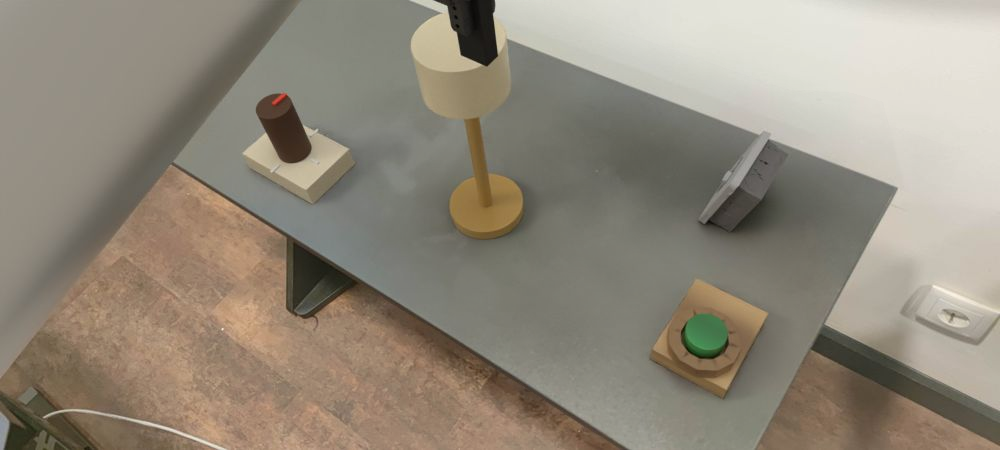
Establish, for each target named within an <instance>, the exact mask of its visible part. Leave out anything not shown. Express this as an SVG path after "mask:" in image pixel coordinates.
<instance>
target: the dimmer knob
mask: <svg viewBox="0 0 1000 450" xmlns="http://www.w3.org/2000/svg"><path fill="white" fill-rule="evenodd" d="M255 113H256V116H257V119H258V120H259V121H260V124H261V125H262V128H263V129H264V131H265V133H267V135H268V137H269V139H270V141H271V143H272V145H273V147H274V149H275V151H276V153H277V155H278V157H279V158H280V160H282V161H283V162H286V163H296V162H299V161H302V160H303V159H305V158H306V157H307V156H308V155H309V154H310V152H311V148H312V146H311V143H310V141H309V138H308V136H307V134H306V132H305V130H304V127H303V125H304V124H303V122H302V121H301V118H300V116H299V114H298V112H297V109H296V108H295V105H294V103H293V101H292V98H291V97H290V96H289V95H288V94H287V93H286V92H282V93H279V92H278V93H272V94H269V95H266V96H264V97H263V98H261V99H260V101H258V103H257V104H256V107H255Z"/></svg>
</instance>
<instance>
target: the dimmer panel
mask: <svg viewBox="0 0 1000 450" xmlns="http://www.w3.org/2000/svg"><path fill="white" fill-rule="evenodd" d="M302 125H303V127H304V130H305V132H306V134H307V136H308V138H309V141H310V143H311V146H312V148H311V152H310V154H309V155H308V156H307V157H306V158H305V159H303V160H302V161H299V162H296V163H286V162H283V161H282V160H280V158H279V157H278V155H277V153H276V151H275V149H274V147H273V145H272V143H271V141H270V139H269V137H268V135H267V133H266V132H264V133H263V134H262V135H261V136H260V137H259V138H257V140H256V141H254V142H253V143H252V144H251V145H249V146H248V147H247V148H246V149H245V150H244V151H243V152H242V153H241V154H242V156H243V157H244V159H245V161H246V163H247V165H248V166H249V168H250V169H251V170H252V171H254V172H256V173H258V174H260V175H261V176H263V177H265V178H267V179H269V181H272V182H274V183H275V184H277V185H278V186H281V187H282V188H284V189H286V190H287V191H289V192H291V193H292V194H294V195H296V196H298V197H300V198H301V199H303V200H305V201H306V202H308V203H309V204H312V205H315V204H316V202H318V201H319V200H320V199H321V198H322V197H323V196H324V195H325V194H326V193H327V192H328V191H329V190H330V189H332V187H334V185H335V184H336V183H338V181H340V179H341V178H343V177H344V176H345V174H347V172H349V171H350V170H351V169H352V168H353V167H354V166H355V165H356V163H355V161H354V158H353V155H352V153H351V150H350V148H348V147H346V146H345V145H342V144H340V143H339V142H337V141H335V140H333V139H331V138H329V137H327V136H326V135H323V134H321V133H319V131H320V130H319V129H318V128H316V129H315V130H314V129H313V128H312V129H311V128H310V127H308V126H307V125H304V124H302Z"/></svg>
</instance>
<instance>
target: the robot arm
mask: <svg viewBox="0 0 1000 450" xmlns="http://www.w3.org/2000/svg"><path fill="white" fill-rule="evenodd" d="M433 1H434V2H437V3H439V4H440V5H444V6H446V7H447V12H448V13H449V18H450V24H451V28H452V29H453V31H455V32H457V37H458V43H459V48H460V54H461V56H463V57H466V58H468V59H470V60H473V61H475V62H477V63H479V64H482V65H484V66H486V67H487V66H488V65H490V64H491V63H492V62H493V61H494V60H495V59H496V58H497V57H498V50H497V42H496V34H495V25H494V17H495V16H494V13H495V12H496V0H433ZM301 2H302V0H0V380H1V379H2V377H3V376H4V375H5V374H6V372H7V371H8V370H9V369H10V368H11V366H12V365H13V364H14V363H15V361H16V360H17V359H18V357H20V355H21V353H22V352H23V351H24V350H25V349H26V347H27V346H28V345H29V343H30V342H31V341H32V340H33V338H34V337H35V336H36V335H37V334H38V333H39V331H40V329H41V328H42V327H43V326H44V325H45V324H46V322H47V321H48V319H50V317H51V316H52V315H53V313H54V312H55V311H56V309H57V308H58V307H59V306H60V304H61V303H62V302H63V301H64V299H65V298H66V297H67V296H68V294H69V293H70V292H71V290H72V289H73V288H74V287H75V286H76V284H77V283H78V282H79V281H80V279H81V278H82V277H83V275H84V274H85V273H86V272H87V270H88V269H89V268H90V267H91V266H92V264H93V263H94V262H95V261H96V260H97V258H98V257H99V255H100V254H101V253H102V252H103V251H104V249H105V248H106V247H107V245H108V244H109V243H110V242H111V241H112V239H113V238H114V237H115V235H116V234H117V233H118V232H119V230H120V229H121V228H122V227H123V225H124V224H125V223H126V222H127V220H128V219H129V218H130V216H131V215H132V214H133V213H134V212H135V210H136V209H137V208H138V207H139V205H140V204H141V203H142V201H143V200H144V199H145V198H146V196H147V195H148V194H149V193H150V191H151V190H152V189H153V188H154V186H155V185H156V184H157V182H158V181H159V180H160V179H161V178H162V176H163V175H164V174H165V173H166V171H167V170H168V169H169V167H170V166H171V165H172V164H173V162H174V161H175V160H176V159H177V158H178V157H179V155H180V154H181V152H182V151H183V150H184V149H185V148H186V146H187V145H188V143H189V142H190V141H191V140H192V138H193V137H194V136H195V135H196V134H197V132H198V131H199V130H200V128H201V127H202V126H203V124H205V122H206V121H207V120H208V118H209V117H210V116H211V115H212V113H213V112H214V111H215V110H216V108H217V107H218V106H219V105H220V103H221V102H222V101H223V100H224V98H225V97H226V96H227V94H229V92H230V91H231V90H232V88H233V87H234V86H235V85H236V83H237V82H238V81H239V80H240V78H241V77H242V76H243V74H244V73H245V72H246V71H247V70H248V68H249V67H250V66H251V64H252V63H253V61H255V59H256V58H257V57H258V55H259V54H260V53H261V52H262V50H263V49H264V48H265V47H266V45H267V44H269V42H270V41H271V39H272V38H273V37H274V36H275V34H276V33H277V32H278V31H279V30H280V28H281V27H282V26H283V24H284V23H285V22H286V21H287V19H288V18H289V17H290V15H291V14H292V13H293V12H294V11H295V10H296V8H297V6H298V5H299V4H300V3H301Z"/></svg>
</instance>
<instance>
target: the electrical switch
mask: <svg viewBox="0 0 1000 450" xmlns="http://www.w3.org/2000/svg"><path fill="white" fill-rule="evenodd" d="M771 136H772V133H770V132H768V131H766V130H763V131H762V132H761V133H760V134H759V135H758V136H757V137H756V138H755V140H754V141H752V143H751V144H750V146H749V147H747V149H746V150H745V151H744V152H743V153H742V154H741V156H740V157H739V158H738V160H737V161H736V162H735V163H734V164H733V166H732V167H731V168H730V169H729V170H727V171H726V173H725V174H724V175H723V178H722V179H721V181H720V184H719V186H718V187H717V189H716V191H715V192H714V193H713V195H712V197H711V198H710V200H709V201H708V203H707V204H706V206H705V208H704V209H703V211H702V213H701V214H700V215H699V217H698V221H699V222H700V223H702V224H703V225H705V224H706V223H707V222H708V221H710V222H712V223H713V224H715V225H717V226H719V227H721V228H723V229H724V230H726V231H727V232H729V233H731V232H732V231H733V229H735V228H736V226H737V225H739V223H740V222H742V220H744V218H746V216H747V215H748V214H749V213H750V212H751V211H752V210H753V209H754V208H755V207H756V206H757V205H758V204H759V203H760V202H761V201H762V199H763V198H764V197H765V195H766V193H767V191H768V190H769V188H770V187H771V185H772V183H773V181H774V179H775V178H776V177H777V175H778V173H779V171H780V170H781V168H782V167H783V165H784V163H785V162H786V160H787V158H788V156H789V153H787V152H786V151H784V150H783V149H781V148H779V147H778V145H776V144H775V143H773V142H772V141H771V140H770V138H771Z"/></svg>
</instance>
